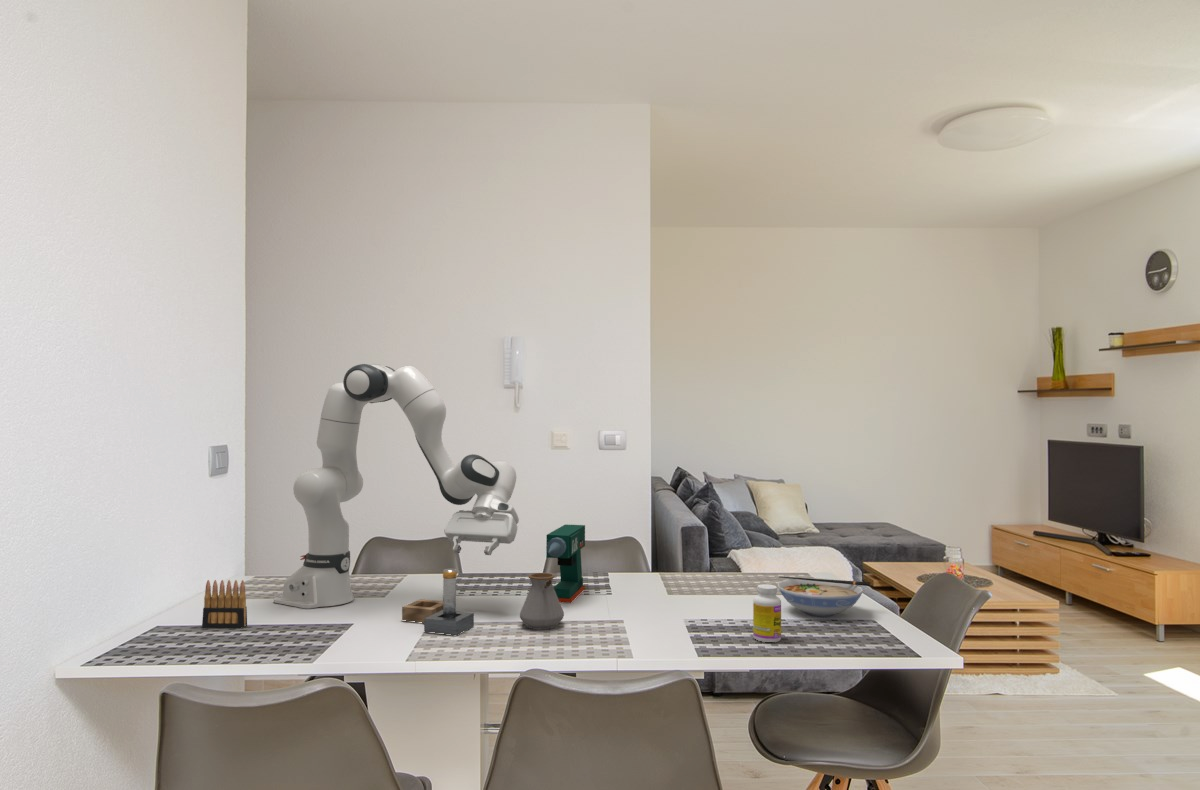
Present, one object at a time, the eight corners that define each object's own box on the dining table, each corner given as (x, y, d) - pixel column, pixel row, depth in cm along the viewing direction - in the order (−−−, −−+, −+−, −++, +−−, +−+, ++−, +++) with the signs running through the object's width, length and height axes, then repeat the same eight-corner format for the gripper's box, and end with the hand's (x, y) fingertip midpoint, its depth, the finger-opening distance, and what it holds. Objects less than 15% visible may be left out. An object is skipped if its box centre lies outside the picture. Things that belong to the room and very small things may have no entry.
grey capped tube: (439, 630, 189) (440, 570, 190) (446, 627, 192) (447, 568, 193) (451, 631, 188) (452, 571, 188) (458, 628, 191) (459, 569, 192)
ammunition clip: (247, 626, 193) (248, 579, 193) (243, 628, 191) (244, 580, 191) (205, 626, 193) (206, 579, 193) (201, 628, 191) (202, 580, 191)
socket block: (424, 632, 187) (424, 618, 187) (442, 623, 196) (443, 609, 196) (456, 636, 184) (456, 621, 185) (473, 626, 193) (473, 612, 193)
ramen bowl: (764, 617, 203) (764, 587, 203) (782, 599, 223) (782, 571, 223) (862, 629, 192) (862, 597, 192) (871, 609, 212) (871, 579, 213)
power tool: (561, 615, 205) (561, 541, 205) (536, 613, 206) (536, 540, 207) (586, 589, 236) (587, 525, 237) (565, 587, 237) (565, 524, 238)
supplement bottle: (775, 645, 178) (775, 590, 178) (749, 640, 182) (749, 587, 182) (785, 638, 184) (784, 585, 184) (759, 634, 187) (758, 582, 188)
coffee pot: (517, 620, 199) (517, 563, 199) (560, 618, 201) (560, 562, 201) (525, 644, 178) (526, 580, 178) (573, 642, 180) (573, 578, 181)
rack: (402, 621, 197) (402, 606, 198) (420, 613, 206) (420, 599, 206) (432, 624, 195) (432, 609, 195) (449, 615, 203) (449, 601, 203)
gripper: (451, 503, 212) (432, 543, 202) (517, 506, 206) (501, 547, 196) (459, 517, 216) (441, 557, 206) (524, 520, 210) (509, 562, 200)
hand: (471, 552), depth 201 cm, fingers open, 8 cm apart
